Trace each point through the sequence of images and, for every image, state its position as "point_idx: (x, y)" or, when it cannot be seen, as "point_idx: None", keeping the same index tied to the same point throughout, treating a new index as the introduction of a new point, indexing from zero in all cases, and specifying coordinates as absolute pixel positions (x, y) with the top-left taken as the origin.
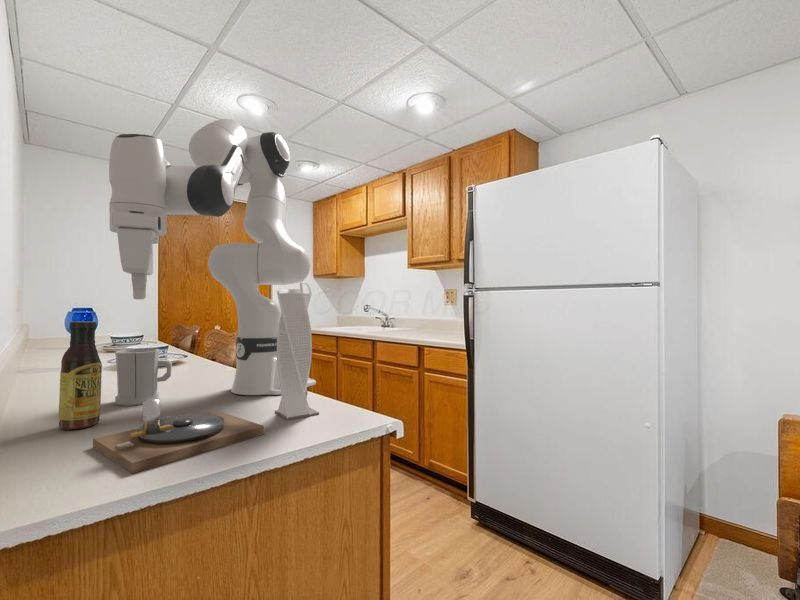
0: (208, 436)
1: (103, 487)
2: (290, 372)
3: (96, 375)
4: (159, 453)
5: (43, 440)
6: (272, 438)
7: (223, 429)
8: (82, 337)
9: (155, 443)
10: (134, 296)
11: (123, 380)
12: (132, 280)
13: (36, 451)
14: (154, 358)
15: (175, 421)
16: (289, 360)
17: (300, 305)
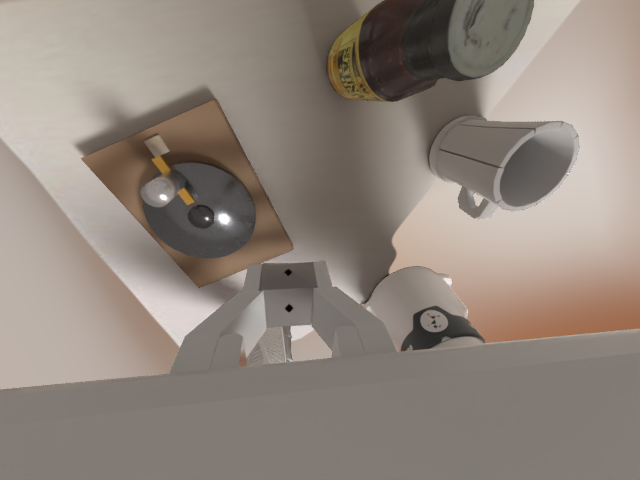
0: None
1: (45, 125)
2: (249, 354)
3: (362, 91)
4: (113, 187)
5: (291, 13)
6: (183, 286)
7: None
8: (416, 37)
9: None
10: (249, 271)
11: (473, 134)
12: (191, 336)
13: (230, 10)
14: (486, 197)
15: (200, 209)
16: None
17: None
